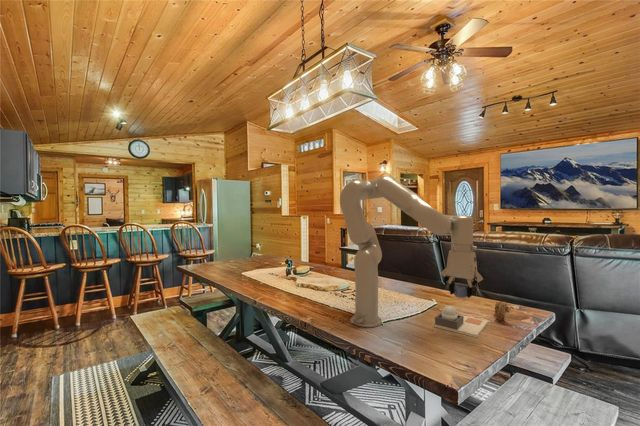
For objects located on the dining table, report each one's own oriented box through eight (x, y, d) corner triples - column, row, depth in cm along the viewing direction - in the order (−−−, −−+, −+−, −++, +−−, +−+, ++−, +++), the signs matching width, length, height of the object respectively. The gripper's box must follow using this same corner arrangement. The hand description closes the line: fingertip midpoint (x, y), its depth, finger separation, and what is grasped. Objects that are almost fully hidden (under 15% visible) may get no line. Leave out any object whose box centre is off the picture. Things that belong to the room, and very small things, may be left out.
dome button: (454, 325, 128) (454, 309, 128) (439, 321, 132) (439, 306, 132) (459, 321, 133) (459, 305, 133) (444, 317, 137) (444, 302, 136)
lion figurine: (511, 325, 133) (511, 304, 133) (496, 324, 135) (497, 303, 134) (502, 313, 147) (502, 293, 147) (489, 312, 149) (489, 293, 148)
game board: (476, 337, 122) (476, 327, 122) (434, 326, 132) (434, 317, 132) (488, 323, 136) (488, 313, 135) (448, 314, 146) (449, 305, 146)
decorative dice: (463, 294, 126) (463, 284, 125) (468, 298, 122) (468, 287, 121) (453, 294, 126) (453, 284, 125) (457, 298, 122) (457, 287, 121)
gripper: (489, 249, 120) (488, 297, 121) (442, 244, 131) (441, 288, 132) (483, 251, 114) (482, 302, 115) (435, 246, 126) (434, 293, 127)
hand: (460, 294), depth 124 cm, fingers closed on decorative dice, 5 cm apart
